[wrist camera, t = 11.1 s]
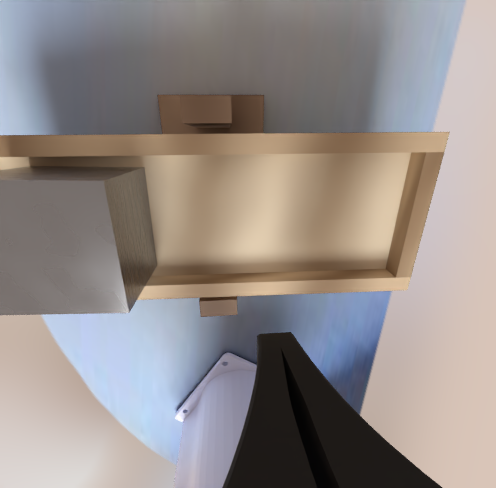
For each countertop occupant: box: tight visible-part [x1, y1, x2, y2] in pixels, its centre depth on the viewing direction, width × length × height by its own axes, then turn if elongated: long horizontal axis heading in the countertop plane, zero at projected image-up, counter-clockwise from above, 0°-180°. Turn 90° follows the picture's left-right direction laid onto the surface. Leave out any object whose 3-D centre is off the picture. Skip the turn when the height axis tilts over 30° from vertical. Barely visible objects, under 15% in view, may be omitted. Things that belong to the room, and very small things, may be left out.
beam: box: [0, 132, 449, 300], centre depth 13 cm, size 20×8×2 cm, turn 90°
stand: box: [158, 95, 264, 317], centre depth 15 cm, size 6×12×6 cm, turn 1°
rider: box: [0, 166, 157, 315], centre depth 11 cm, size 5×5×4 cm
